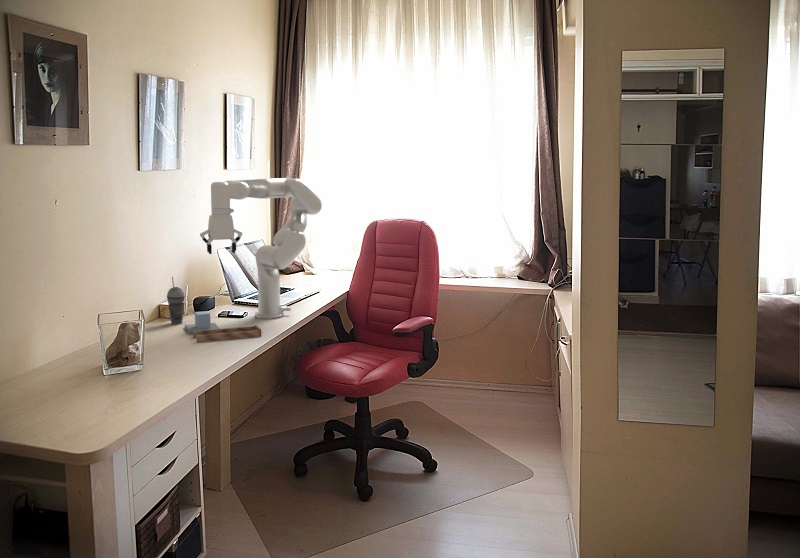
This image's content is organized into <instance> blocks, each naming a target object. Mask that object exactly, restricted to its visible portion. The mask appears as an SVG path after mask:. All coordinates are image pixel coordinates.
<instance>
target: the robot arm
mask: <svg viewBox="0 0 800 558" xmlns="http://www.w3.org/2000/svg"><path fill="white" fill-rule="evenodd" d="M246 198H251V199H252V198H253V199H280V198H282V199H283V198H291V200H290V202H289V203H290V204H289V207H290V217H289V219H288V220H287V221H286V222H285V224H283V226H281V228H280V229H279V230H278V231H277V232H276V233H275V234H274V237H273V238H272V239H273V240H272V243H273V245H269V244H268V245H267V244H265V245H262V246H260V247H258V249H257V250H256V252H255V262H256V263H255V264H256V267H257V290H258V291H257V293H258V294H257V301H258V302H257V303H258V304H257V305H258V311H257V312H255V313H254V317H256V318H258V319H264V320H265V319H267V320H269V319H279V318H282V317H284V316H285V313H284V312H289V311H290V312H291V309H292V307H291V306H286V305H285V306H283V305H281V277H280V271H279V270H285V269H287V268H288V267H289V266H290V265H291V264H292V263H293V262H294V260H296V259H297V257H298V256H299V255H300V254H301V253H302V252H303V251H304V248H305V246H306V241H307V240H306V236H305V235H304V232H305V230H306V229H307V224H308V219H307V217H308V216H307V215H313V216H315V215H317V214H318V213H320V211H321V210H322V205H323V204H322V200H321V199H320V197H319V196H318V195H317V194H316V192H315V191H314V190H312V189H311V187H310V186H309V185H308V184H307V183H306V182H305V181H303V180H302V179H300V178H291V177H281V178H279V177H278V178H277V177H276V178H256V179H237V180H235V179H233V180H231V179H230V180H225V181H214V182H211V184H210V203H211V204H210V208H211V209H210V211H211V214H210V215H209V217H208V225H207V226H208V229H206V230H204V231H202V232H200V234H199V236H200V237H201V238H200V239H202V241H203V242H204V243H205V244H206V251H207V253H208V254H209V255H212V251H213V250H212V244H211V243H212V242H213V240H214V241H220V240H221V241H222V240H230V241H231V253H233V254H235V253H236V251H237V243H238V242H239V241H240V240H241V238H242V235H243V232H241V231H239V230H237V229H235V228H234V227H235V226H234V220H233V215H232V214H233V213H234V211H235V210H234V209H233V208H231V200H245V199H246ZM235 234H237V236H236V237H235ZM205 235H207V237H208V239H207V238H206V236H205Z"/></svg>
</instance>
